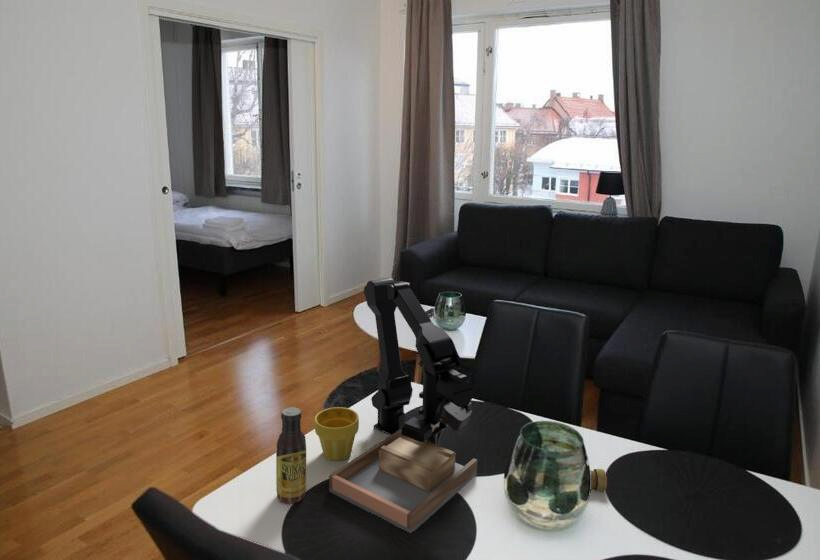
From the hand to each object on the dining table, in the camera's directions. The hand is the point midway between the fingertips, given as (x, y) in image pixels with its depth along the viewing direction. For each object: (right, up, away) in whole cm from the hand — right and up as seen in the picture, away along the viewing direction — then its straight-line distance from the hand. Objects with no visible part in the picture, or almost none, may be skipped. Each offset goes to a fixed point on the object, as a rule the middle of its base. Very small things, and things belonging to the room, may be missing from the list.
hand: (433, 449), depth 139 cm
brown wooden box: (-4, -3, -5) cm, 7 cm away
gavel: (+33, -4, 0) cm, 33 cm away
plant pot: (-23, -2, +3) cm, 23 cm away
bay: (-7, -5, -8) cm, 11 cm away
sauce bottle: (-31, -6, -13) cm, 34 cm away
